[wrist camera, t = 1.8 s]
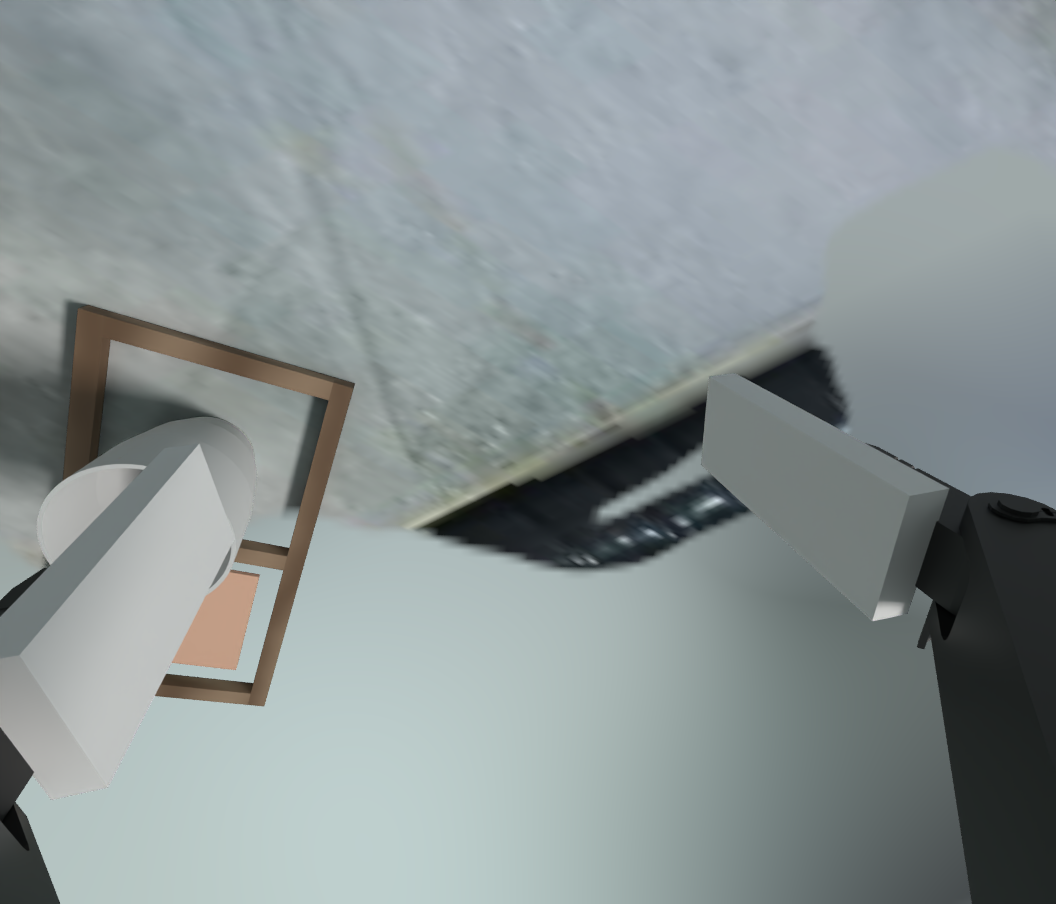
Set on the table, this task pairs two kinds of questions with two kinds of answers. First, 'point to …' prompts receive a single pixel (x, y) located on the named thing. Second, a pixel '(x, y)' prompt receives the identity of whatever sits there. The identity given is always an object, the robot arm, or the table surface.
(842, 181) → the table surface
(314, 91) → the table surface
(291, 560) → the brown wooden divided frame
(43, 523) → the cup
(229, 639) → the pad
